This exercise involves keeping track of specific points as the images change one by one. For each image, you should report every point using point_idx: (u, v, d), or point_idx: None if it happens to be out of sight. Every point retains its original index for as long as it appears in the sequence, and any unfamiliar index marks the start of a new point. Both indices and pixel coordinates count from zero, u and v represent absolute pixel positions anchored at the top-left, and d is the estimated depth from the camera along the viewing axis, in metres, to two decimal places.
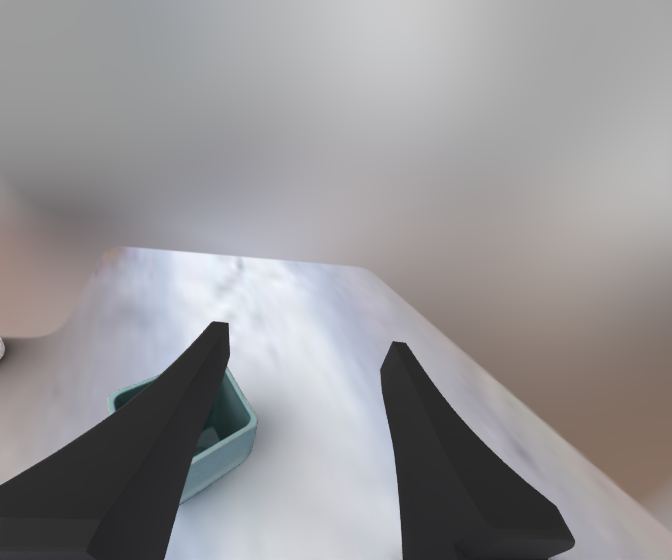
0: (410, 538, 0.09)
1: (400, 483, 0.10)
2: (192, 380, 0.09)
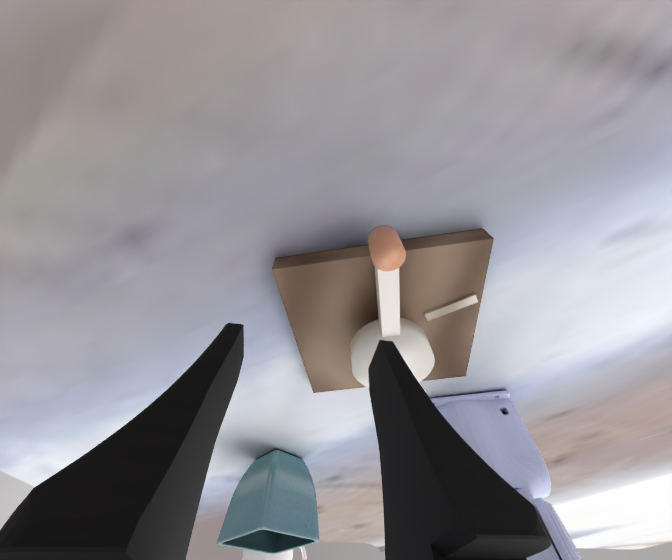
0: (392, 538, 0.09)
1: (384, 483, 0.10)
2: (212, 382, 0.09)
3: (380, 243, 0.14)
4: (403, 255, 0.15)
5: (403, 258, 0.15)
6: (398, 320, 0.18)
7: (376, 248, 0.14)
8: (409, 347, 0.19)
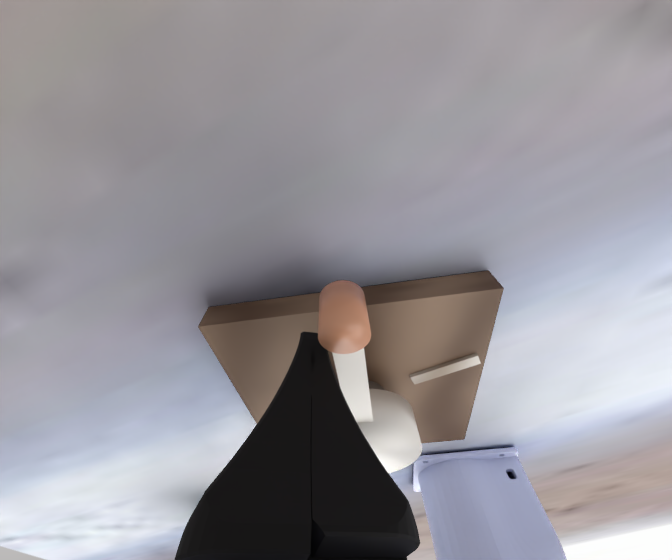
0: None
1: None
2: (311, 390, 0.09)
3: (330, 316, 0.09)
4: (367, 333, 0.09)
5: (367, 337, 0.09)
6: (369, 405, 0.13)
7: (322, 325, 0.09)
8: (386, 435, 0.14)
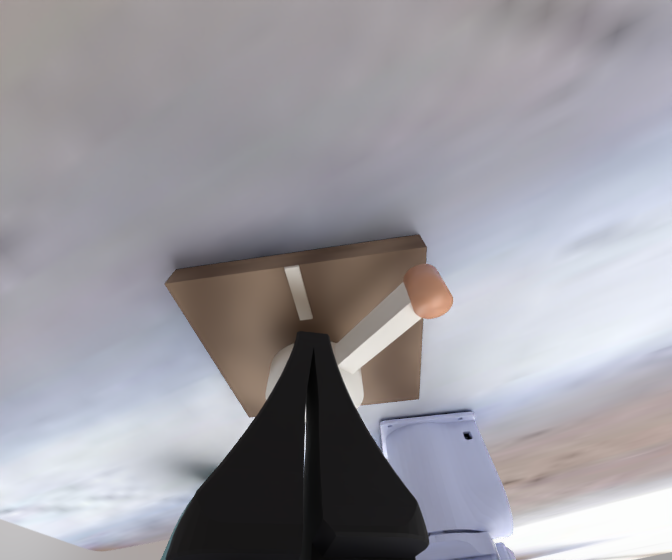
0: None
1: (304, 480, 0.10)
2: (306, 390, 0.09)
3: (440, 286, 0.12)
4: (444, 311, 0.13)
5: (440, 314, 0.13)
6: (367, 360, 0.15)
7: (434, 288, 0.12)
8: (349, 389, 0.17)
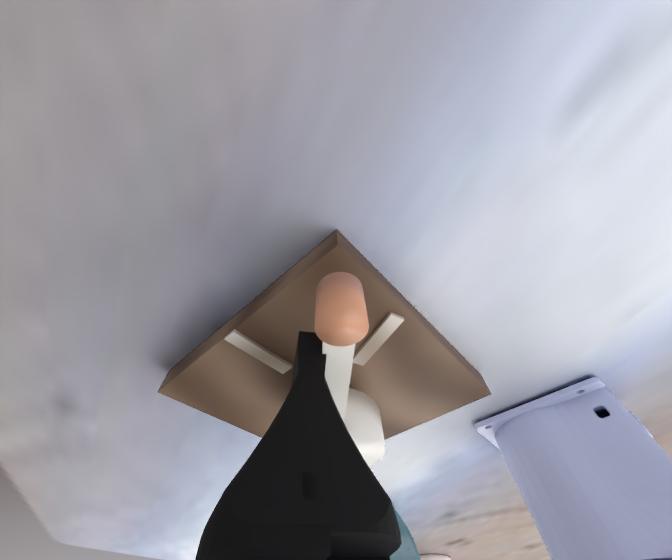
0: None
1: None
2: (322, 391, 0.09)
3: (331, 305, 0.09)
4: (364, 328, 0.09)
5: (363, 332, 0.09)
6: (344, 403, 0.12)
7: (323, 312, 0.09)
8: (354, 435, 0.14)
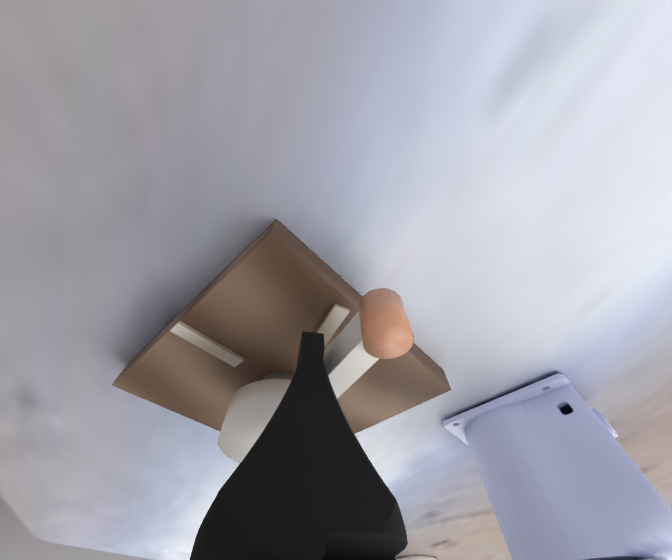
0: None
1: None
2: (319, 391, 0.09)
3: (393, 321, 0.10)
4: (405, 349, 0.10)
5: (401, 352, 0.10)
6: None
7: (385, 324, 0.09)
8: None
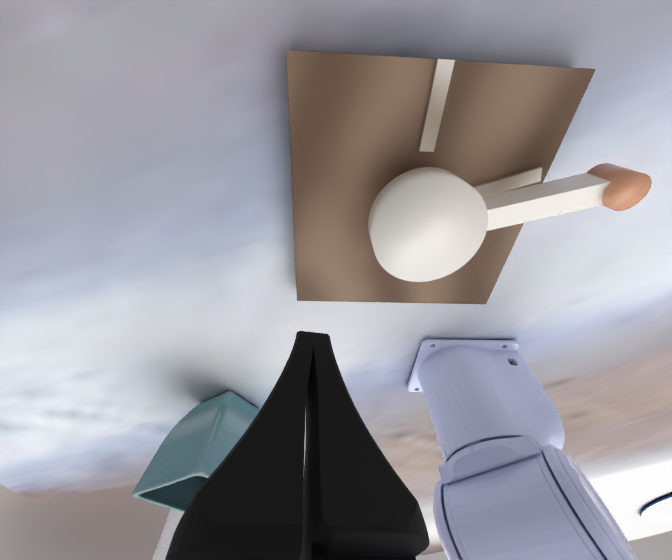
0: None
1: (303, 479, 0.10)
2: (306, 390, 0.09)
3: (648, 180, 0.13)
4: (624, 207, 0.14)
5: (619, 208, 0.14)
6: (513, 223, 0.15)
7: None
8: (465, 246, 0.15)
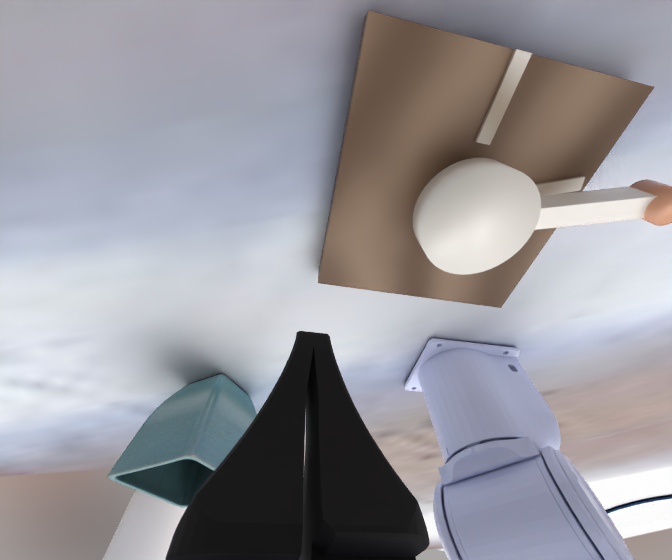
0: None
1: (303, 479, 0.10)
2: (306, 390, 0.09)
3: None
4: (663, 223, 0.14)
5: (659, 223, 0.14)
6: (559, 225, 0.15)
7: None
8: (510, 243, 0.15)
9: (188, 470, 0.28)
